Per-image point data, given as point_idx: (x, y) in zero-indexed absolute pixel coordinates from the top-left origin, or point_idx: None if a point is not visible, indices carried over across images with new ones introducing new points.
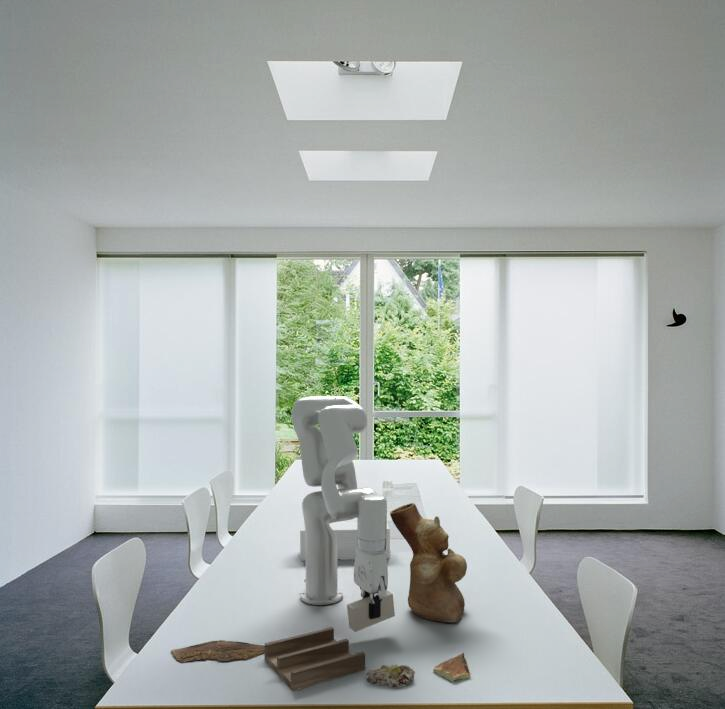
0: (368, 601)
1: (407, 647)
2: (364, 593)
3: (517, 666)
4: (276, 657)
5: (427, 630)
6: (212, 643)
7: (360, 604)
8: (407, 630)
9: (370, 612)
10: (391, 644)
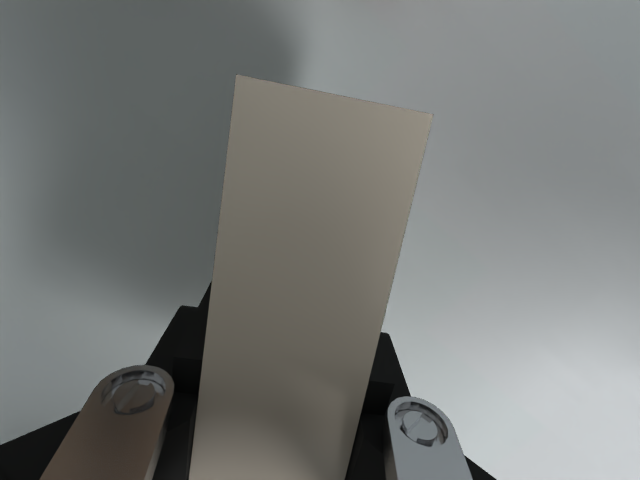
0: (241, 383)
1: (57, 308)
2: (385, 466)
3: None
4: None
5: None
6: None
7: (258, 258)
8: None
9: (205, 299)
10: (136, 269)
